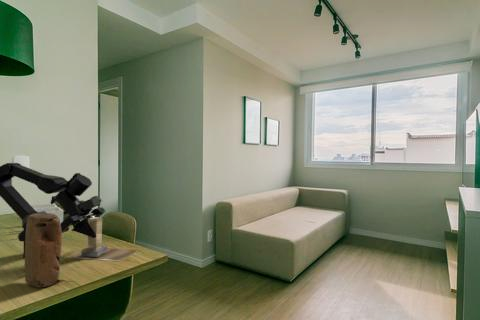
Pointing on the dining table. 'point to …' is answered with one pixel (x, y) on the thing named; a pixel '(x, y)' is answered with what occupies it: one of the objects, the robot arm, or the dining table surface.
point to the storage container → (49, 210)
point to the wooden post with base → (95, 239)
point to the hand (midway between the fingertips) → (98, 235)
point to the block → (42, 249)
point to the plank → (108, 255)
